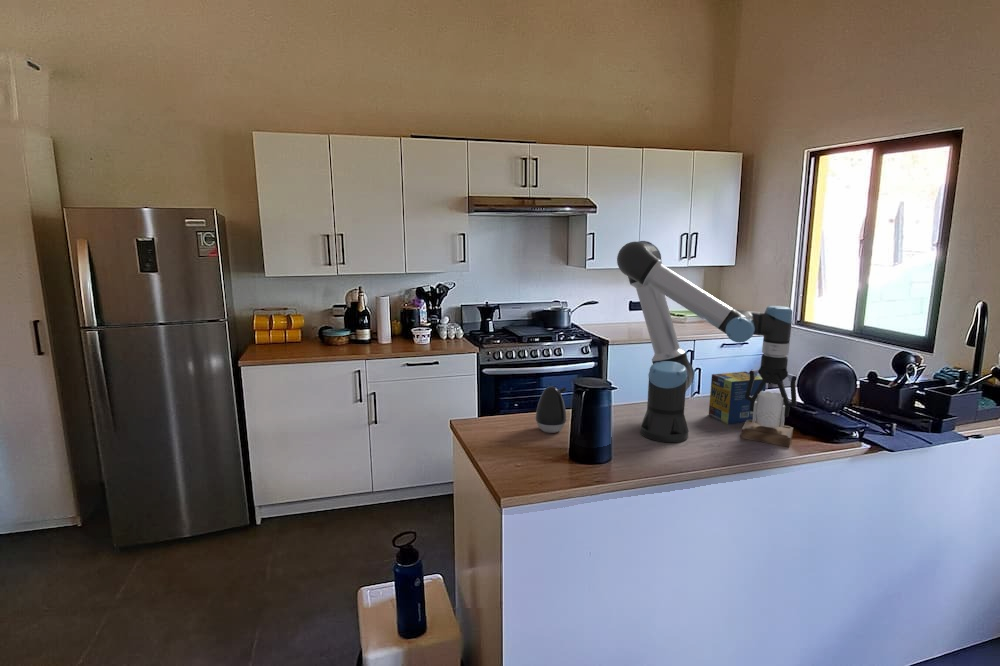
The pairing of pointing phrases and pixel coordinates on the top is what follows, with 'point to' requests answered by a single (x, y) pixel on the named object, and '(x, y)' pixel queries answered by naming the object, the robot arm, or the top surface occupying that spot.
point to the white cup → (769, 409)
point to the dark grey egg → (551, 410)
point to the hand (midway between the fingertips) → (767, 423)
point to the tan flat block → (767, 433)
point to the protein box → (732, 397)
